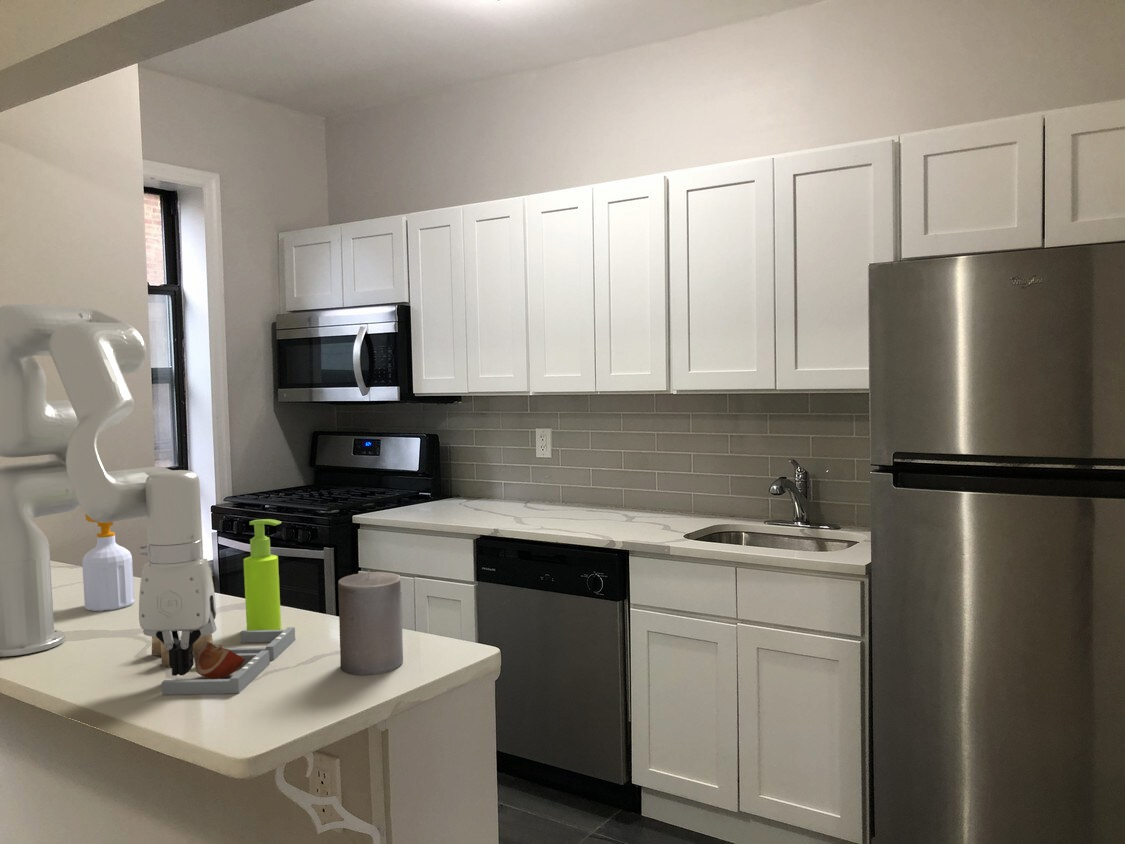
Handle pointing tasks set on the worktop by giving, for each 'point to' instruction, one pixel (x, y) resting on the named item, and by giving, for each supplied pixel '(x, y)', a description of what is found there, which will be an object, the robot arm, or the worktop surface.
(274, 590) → the soap dispenser
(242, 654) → the corral
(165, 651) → the cork
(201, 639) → the cork
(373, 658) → the pillar candle
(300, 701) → the worktop surface
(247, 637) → the corral
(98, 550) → the soap bottle
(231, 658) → the fruit slice
